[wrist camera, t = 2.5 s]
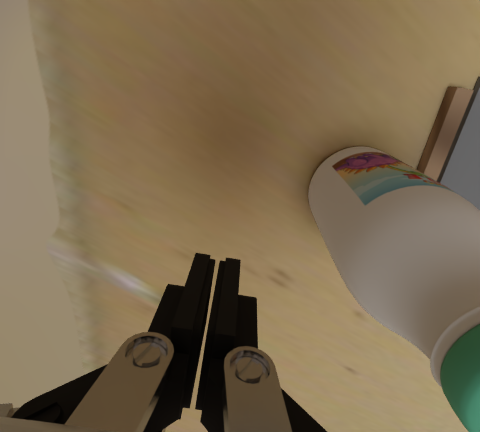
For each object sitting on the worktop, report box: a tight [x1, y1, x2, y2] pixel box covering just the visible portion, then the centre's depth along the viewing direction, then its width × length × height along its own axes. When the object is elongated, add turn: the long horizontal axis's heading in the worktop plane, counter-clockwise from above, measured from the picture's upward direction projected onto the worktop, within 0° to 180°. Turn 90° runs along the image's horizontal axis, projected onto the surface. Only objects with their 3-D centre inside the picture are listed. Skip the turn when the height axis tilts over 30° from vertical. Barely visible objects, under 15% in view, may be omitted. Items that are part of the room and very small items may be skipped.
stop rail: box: [417, 87, 474, 181], centre depth 27 cm, size 18×1×1 cm, turn 171°
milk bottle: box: [308, 146, 480, 432], centre depth 18 cm, size 8×8×20 cm
